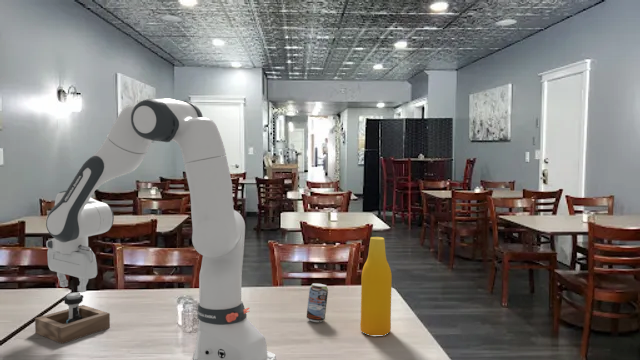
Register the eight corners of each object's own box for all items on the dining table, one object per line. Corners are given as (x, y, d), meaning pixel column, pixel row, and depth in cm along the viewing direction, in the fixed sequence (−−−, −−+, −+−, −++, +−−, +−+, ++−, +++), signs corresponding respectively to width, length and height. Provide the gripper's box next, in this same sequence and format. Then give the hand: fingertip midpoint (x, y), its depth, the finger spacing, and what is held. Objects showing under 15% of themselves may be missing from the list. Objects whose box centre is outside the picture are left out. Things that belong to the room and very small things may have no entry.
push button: (73, 332, 144) (73, 298, 143) (57, 330, 144) (56, 297, 144) (87, 324, 150) (87, 292, 150) (71, 322, 151) (71, 291, 150)
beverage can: (303, 322, 157) (303, 285, 156) (313, 315, 164) (314, 280, 163) (320, 325, 154) (320, 288, 153) (330, 318, 161) (331, 282, 160)
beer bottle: (355, 328, 153) (356, 236, 151) (381, 324, 156) (383, 234, 154) (368, 339, 144) (370, 241, 142) (396, 335, 147) (398, 239, 145)
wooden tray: (109, 327, 150) (109, 313, 150) (61, 343, 138) (61, 328, 137) (83, 318, 158) (82, 304, 158) (35, 333, 145) (35, 318, 145)
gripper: (102, 245, 143) (103, 292, 144) (63, 238, 154) (64, 281, 155) (81, 249, 138) (82, 297, 139) (42, 241, 149) (44, 286, 150)
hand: (72, 289), depth 147 cm, fingers open, 8 cm apart
